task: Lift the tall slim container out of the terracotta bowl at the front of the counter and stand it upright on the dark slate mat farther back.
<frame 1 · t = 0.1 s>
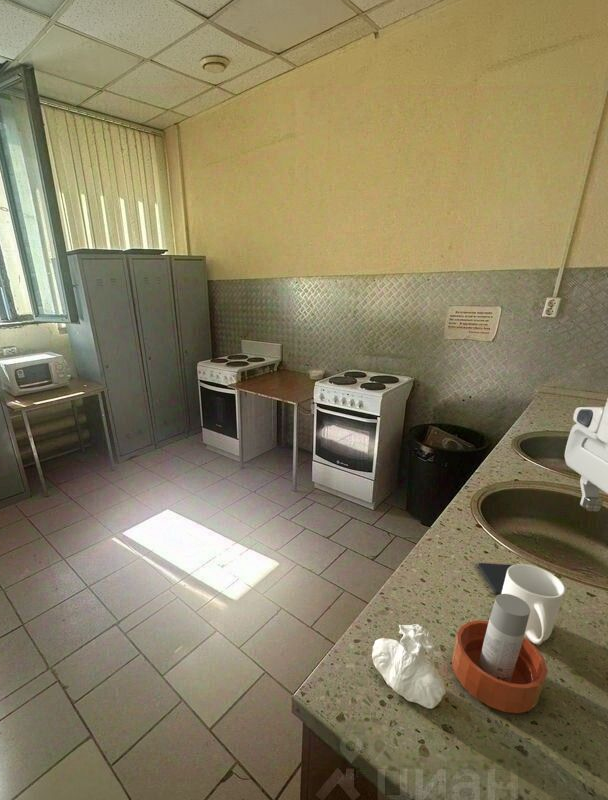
mug: (524, 632, 73), on the counter
bowl: (492, 677, 65), on the counter
white plastic bag: (406, 682, 65), on the counter
container: (493, 676, 65), resting on bowl
mat: (508, 580, 85), on the counter
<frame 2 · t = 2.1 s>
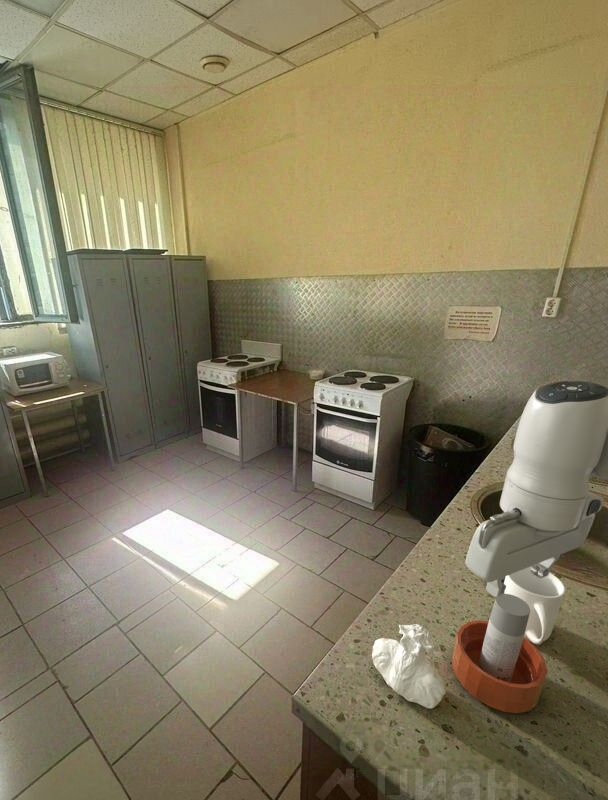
hand: (517, 583, 58), 20 cm above the counter, tool pointing down, fingers open, 8 cm apart
nothing on the counter moved.
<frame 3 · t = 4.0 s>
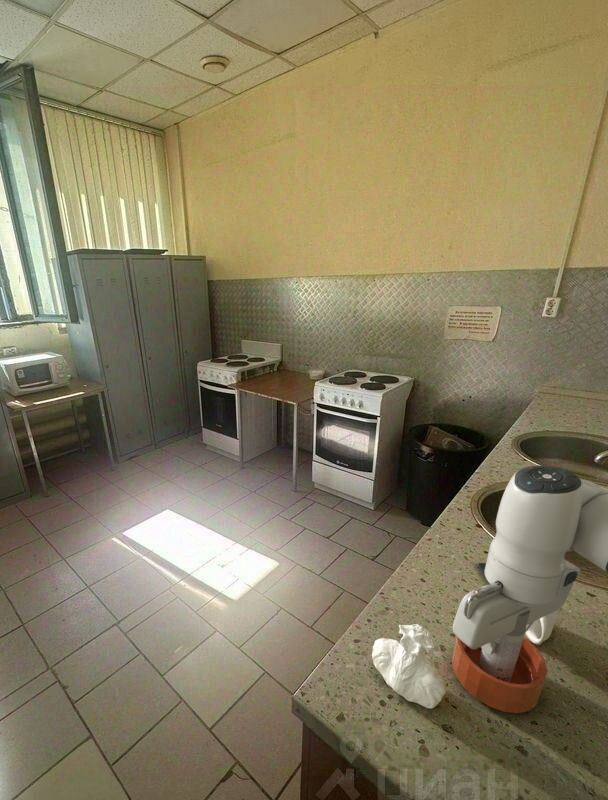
hand: (502, 643, 62), 8 cm above the counter, tool pointing down, fingers closed on container, 4 cm apart
container: (493, 676, 65), resting on bowl, touching gripper
everything else where it was.
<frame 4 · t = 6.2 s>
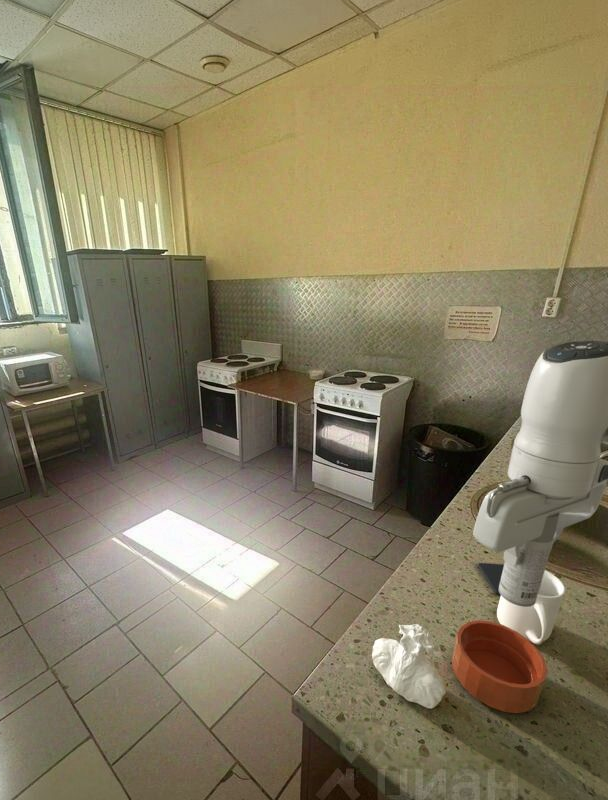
hand: (526, 556, 56), 24 cm above the counter, tool pointing down, fingers closed on container, 4 cm apart
container: (516, 596, 59), point 17 cm above the counter, touching gripper
everything else where it was.
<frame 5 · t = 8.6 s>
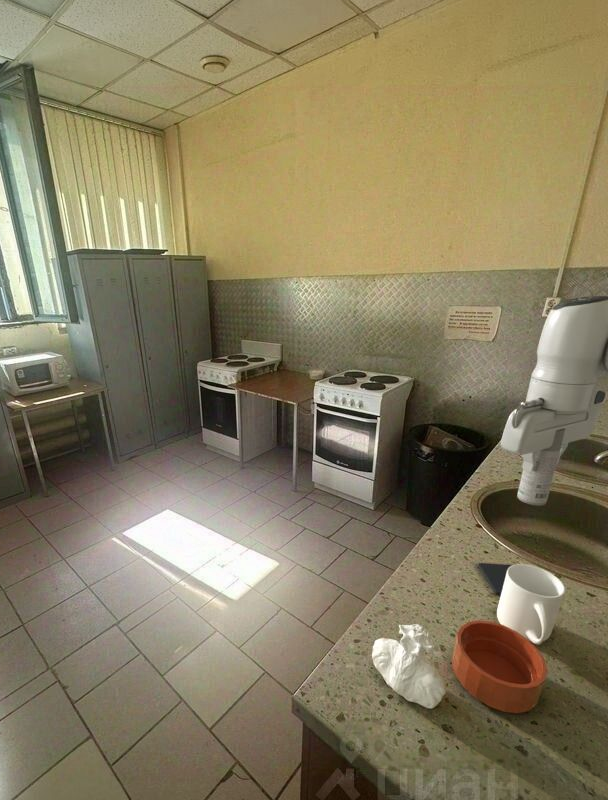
hand: (540, 466, 73), 28 cm above the counter, tool pointing down, fingers closed on container, 4 cm apart
container: (531, 500, 76), point 21 cm above the counter, touching gripper
everything else where it was.
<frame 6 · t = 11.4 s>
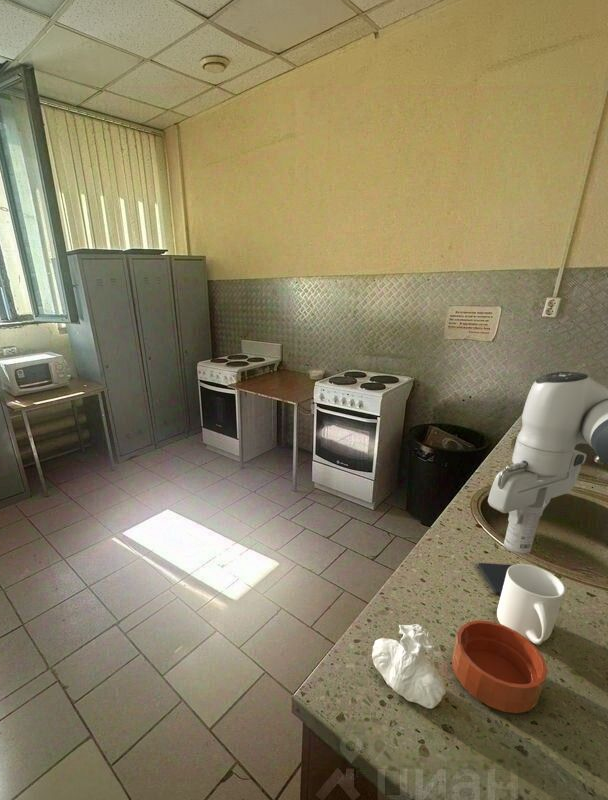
hand: (524, 519, 80), 16 cm above the counter, tool pointing down, fingers closed on container, 4 cm apart
container: (516, 548, 82), point 9 cm above the counter, touching gripper
everything else where it was.
when the fingers open (8 cm above the counter, at t = 13.6 s): container stays where it is, resting on mat.
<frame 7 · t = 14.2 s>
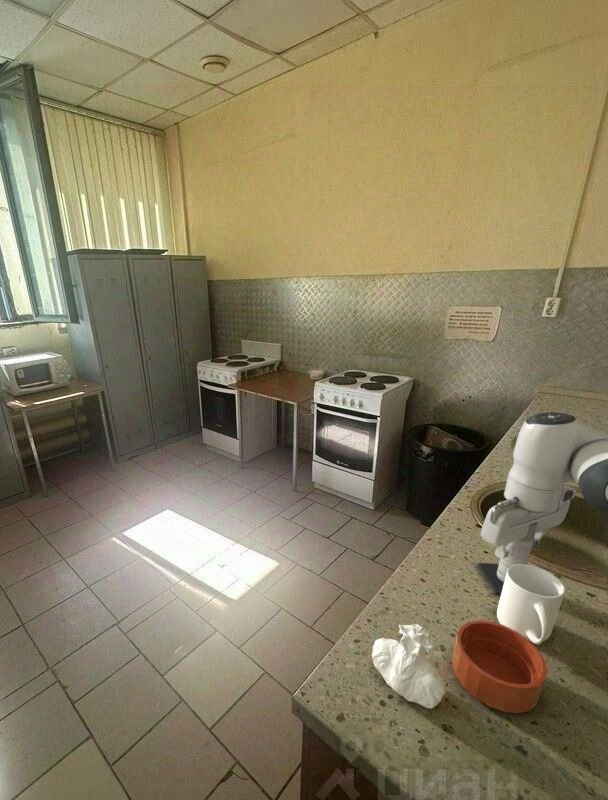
hand: (516, 550, 82), 8 cm above the counter, tool pointing down, fingers open, 8 cm apart
container: (508, 578, 85), point 1 cm above the counter, touching mat
everything else where it was.
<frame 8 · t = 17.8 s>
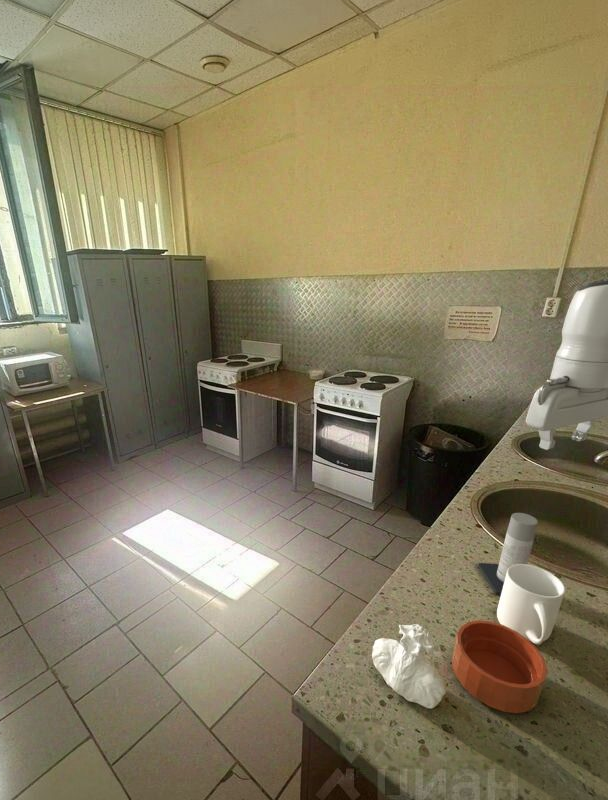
hand: (562, 444, 76), 31 cm above the counter, tool pointing down, fingers open, 8 cm apart
nothing on the counter moved.
at the end: container inside the target area on the mat (0.0 cm from its centre), point 0.6 cm above the mat's base; container tilted 0°; the gripper is holding nothing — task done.
